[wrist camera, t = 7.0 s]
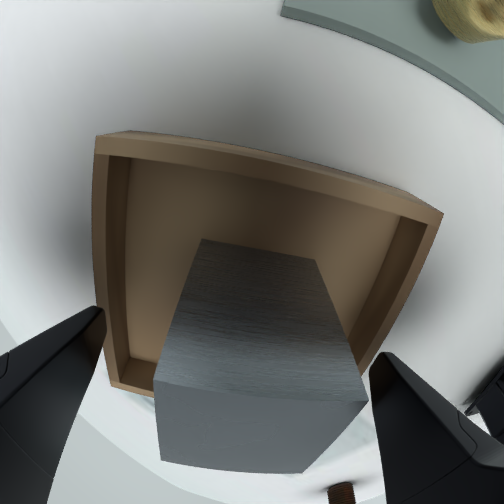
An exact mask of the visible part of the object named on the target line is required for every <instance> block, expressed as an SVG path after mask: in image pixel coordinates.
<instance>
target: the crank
mask: <svg viewBox="0 0 504 504" xmlns="http://www.w3.org/2000/svg"><path fill="white" fill-rule="evenodd" d="M432 3H433V6H434V8H435V11H436V13H437V14H438V16H439V18H440V19H441V21H442V22H443V24H444V25H445V26H446V27H447V28H448V30H449V31H450V32H451V33H453V35H454V37H455V38H456V39H458V38H459V39H460V40H462V41H464V42H466V43H470V44H475V43H481V42H488V41H495V40H503V39H504V0H432Z"/></svg>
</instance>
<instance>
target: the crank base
mask: <svg viewBox="0 0 504 504" xmlns="http://www.w3.org/2000/svg"><path fill="white" fill-rule="evenodd" d="M281 16H284V17H288V18H292V19H296V20H300V21H304V22H308V23H311V24H315V25H318V26H321V27H325V28H328V29H331V30H334V31H337V32H340V33H343V34H346V35H348V36H351V37H354V38H356V39H359V40H362V41H364V42H367V43H369V44H371V45H374V46H376V47H379V48H381V49H383V50H385V51H388V52H390V53H392V54H394V55H396V56H398V57H400V58H402V59H404V60H406V61H408V62H410V63H412V64H414V65H416V66H418V67H420V68H422V69H423V70H425V71H427V72H429V73H430V74H432V75H434V76H436V77H437V78H439V79H441V80H442V81H444V82H446V83H447V84H449V85H450V86H452V87H453V88H455V89H457V90H458V91H460V92H461V93H463V94H464V95H466V96H467V97H468V98H470V99H471V100H473V101H474V102H475V103H477V104H478V105H480V106H481V107H482V108H484V109H485V110H486V111H488V112H489V113H490V114H491V115H493V116H494V117H495V118H496V119H498V120H499V121H500V122H501V123H502V124H504V39H503V40H495V41H488V42H481V43H475V44H470V43H466V42H464V41H462V40H460V39H459V38H458V39H456V38H455V37H454V35H453V33H451V32H450V31H449V30H448V28H447V27H446V26H445V25H444V24H443V22H442V21H441V19H440V18H439V16H438V14H437V13H436V11H435V8H434V6H433V3H432V0H285V1H284V4H283V8H282V12H281Z"/></svg>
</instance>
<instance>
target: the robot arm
mask: <svg viewBox="0 0 504 504" xmlns="http://www.w3.org/2000/svg"><path fill="white" fill-rule="evenodd" d="M106 334H107V323H106V314H105V310H104V309H103V308H101V307H97V306H90V307H88V308H86V309H84V310H83V311H81V312H79V313H77V314H75V315H73V316H71V317H70V318H68V319H66V320H64V321H62V322H60V323H59V324H57V325H55V326H53V327H51V328H49V329H48V330H46V331H44V332H42V333H40V334H39V335H37V336H35V337H33V338H31V339H30V340H28V341H26V342H24V343H23V344H21V345H19V346H17V347H16V348H14V349H12V350H10V351H9V352H7V353H5V354H3V355H1V356H0V504H47V501H48V497H49V493H50V490H51V486H52V483H53V478H54V476H55V473H56V470H57V467H58V464H59V461H60V458H61V455H62V452H63V449H64V446H65V443H66V440H67V438H68V435H69V432H70V430H71V427H72V425H73V422H74V419H75V417H76V414H77V412H78V409H79V407H80V405H81V402H82V400H83V397H84V395H85V393H86V390H87V388H88V386H89V383H90V381H91V379H92V376H93V374H94V371H95V368H96V365H97V362H98V358H99V355H100V352H101V349H102V346H103V343H104V340H105V337H106ZM369 381H370V391H371V401H372V410H373V416H374V422H375V427H376V432H377V438H378V444H379V450H380V456H381V463H382V470H383V477H384V484H385V493H386V501H387V504H504V366H503V368H502V369H501V370H500V372H499V373H498V374H497V375H496V377H495V378H494V379H493V380H492V382H491V383H490V384H489V385H488V386H487V388H486V389H485V390H484V391H483V392H482V393H481V395H480V396H479V397H478V398H477V399H476V400H475V401H474V402H473V403H472V405H471V406H470V407H469V408H468V409H467V410H466V411H465V412H464V413H465V415H466V416H470V415H474V414H477V413H480V415H481V417H482V419H483V421H484V423H485V425H486V427H487V429H488V431H489V433H490V435H491V436H490V435H489V434H487V433H486V432H485V431H483V430H482V429H481V428H480V427H478V426H477V425H476V424H474V423H473V422H472V421H471V420H469V419H468V418H467V417H466V416H465V415H464V414H462V413H461V412H460V411H459V410H457V408H456V407H454V406H453V405H452V404H451V403H450V402H449V401H447V400H446V399H445V398H444V397H443V396H442V395H441V394H439V393H438V392H437V391H436V390H435V389H434V388H432V387H431V386H430V385H429V384H428V383H427V382H425V381H424V380H423V379H422V378H421V377H420V376H419V375H417V374H416V373H415V372H414V371H413V370H412V369H410V368H409V367H408V366H407V365H406V364H404V363H403V362H402V361H401V360H400V359H399V358H397V357H396V356H395V355H394V354H393V353H391V352H381V353H379V355H378V356H377V358H376V359H375V361H374V362H373V364H372V365H371V367H370V369H369Z"/></svg>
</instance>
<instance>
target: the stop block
mask: <svg viewBox="0 0 504 504" xmlns="http://www.w3.org/2000/svg"><path fill="white" fill-rule="evenodd" d="M153 388H154V401H155V413H156V423H157V432H158V441H159V449H160V456H161V460H162V461H167V462H172V463H177V464H182V465H188V466H194V467H200V468H207V469H215V470H224V471H235V472H248V473H275V474H291V473H303V472H304V471H305V470H306V469H307V468H308V467H309V466H310V465H311V464H312V463H313V462H314V461H315V460H316V459H317V458H318V457H319V456H320V455H321V454H322V453H323V452H324V451H325V450H326V449H327V448H328V447H329V446H330V445H331V444H332V443H333V442H334V441H335V440H336V439H337V438H338V436H339V435H340V434H341V433H342V432H343V431H344V430H345V429H346V428H347V426H348V425H349V424H350V423H351V422H352V421H353V419H354V418H355V417H356V416H357V415H358V414H359V412H360V411H361V410H362V409H363V407H364V406H365V405H366V404H367V402H368V401H369V399H368V396H367V393H366V390H365V387H364V384H363V381H362V379H361V376H360V373H359V370H358V367H357V365H356V362H355V359H354V356H353V354H352V351H351V348H350V346H349V343H348V340H347V338H346V335H345V333H344V330H343V327H342V325H341V322H340V320H339V317H338V315H337V312H336V310H335V307H334V305H333V302H332V300H331V297H330V295H329V292H328V290H327V287H326V285H325V283H324V280H323V278H322V275H321V273H320V271H319V268H318V266H317V264H316V261H315V259H309V258H304V257H299V256H293V255H288V254H283V253H277V252H272V251H267V250H261V249H256V248H250V247H245V246H240V245H234V244H229V243H223V242H218V241H213V240H207V239H201V241H200V244H199V246H198V249H197V252H196V254H195V257H194V260H193V262H192V265H191V268H190V271H189V273H188V276H187V279H186V282H185V284H184V287H183V290H182V293H181V296H180V298H179V301H178V304H177V307H176V310H175V313H174V316H173V319H172V322H171V325H170V328H169V331H168V334H167V337H166V340H165V343H164V346H163V349H162V352H161V355H160V358H159V362H158V365H157V368H156V371H155V374H154V378H153Z"/></svg>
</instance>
